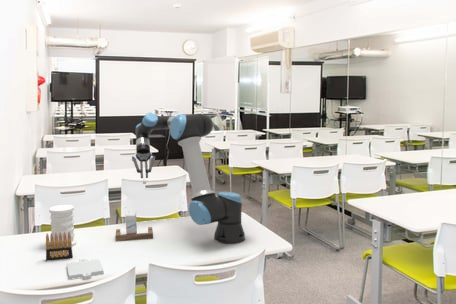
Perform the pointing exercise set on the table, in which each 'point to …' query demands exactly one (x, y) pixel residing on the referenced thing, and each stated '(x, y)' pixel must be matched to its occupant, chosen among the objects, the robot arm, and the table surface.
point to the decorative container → (62, 221)
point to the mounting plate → (84, 268)
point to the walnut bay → (134, 235)
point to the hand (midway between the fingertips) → (144, 182)
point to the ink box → (131, 222)
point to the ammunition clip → (58, 247)
